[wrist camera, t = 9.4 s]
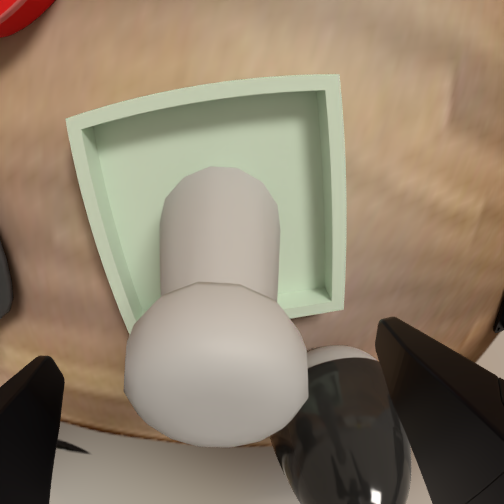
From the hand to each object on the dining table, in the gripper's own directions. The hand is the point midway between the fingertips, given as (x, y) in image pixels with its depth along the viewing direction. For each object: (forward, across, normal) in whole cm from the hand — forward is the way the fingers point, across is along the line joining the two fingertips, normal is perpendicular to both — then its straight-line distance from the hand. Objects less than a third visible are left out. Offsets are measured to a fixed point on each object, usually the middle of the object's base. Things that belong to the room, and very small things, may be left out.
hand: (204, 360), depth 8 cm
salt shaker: (+11, 0, 0) cm, 11 cm away
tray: (+12, 0, 0) cm, 12 cm away
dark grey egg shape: (+12, -6, +15) cm, 20 cm away
